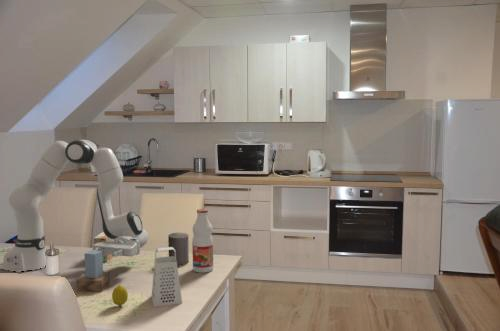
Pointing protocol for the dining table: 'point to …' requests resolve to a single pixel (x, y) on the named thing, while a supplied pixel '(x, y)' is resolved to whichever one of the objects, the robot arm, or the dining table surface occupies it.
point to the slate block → (93, 264)
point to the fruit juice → (202, 243)
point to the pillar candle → (179, 247)
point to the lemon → (119, 295)
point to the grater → (166, 280)
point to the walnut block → (92, 283)
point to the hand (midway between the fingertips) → (103, 253)
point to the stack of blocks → (104, 238)
